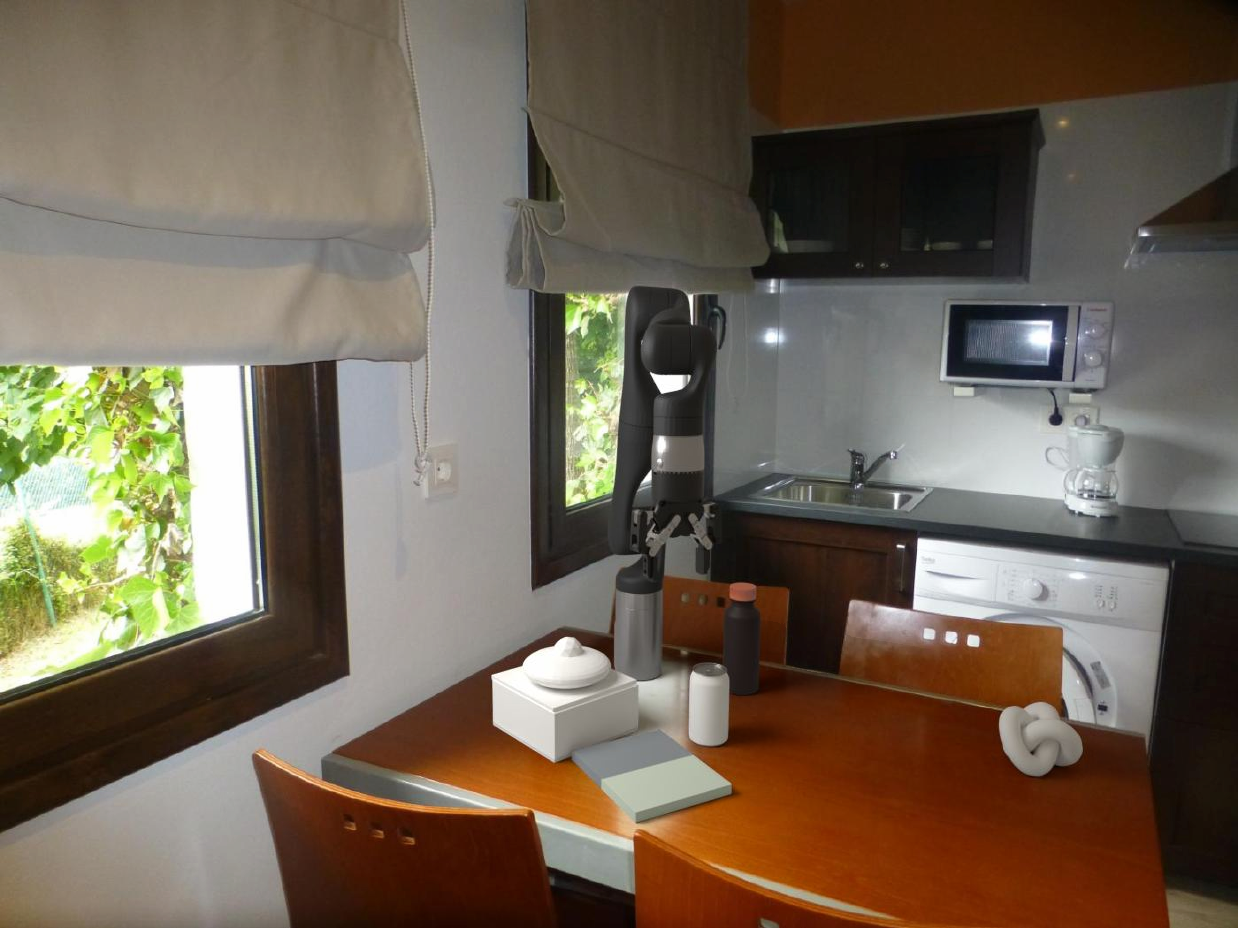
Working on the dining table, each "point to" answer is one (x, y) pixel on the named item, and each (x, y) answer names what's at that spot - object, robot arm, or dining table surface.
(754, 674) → the bottle
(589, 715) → the white lidded box
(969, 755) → the dining table surface
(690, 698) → the can
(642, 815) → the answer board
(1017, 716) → the white decorative knot
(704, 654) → the dining table surface
